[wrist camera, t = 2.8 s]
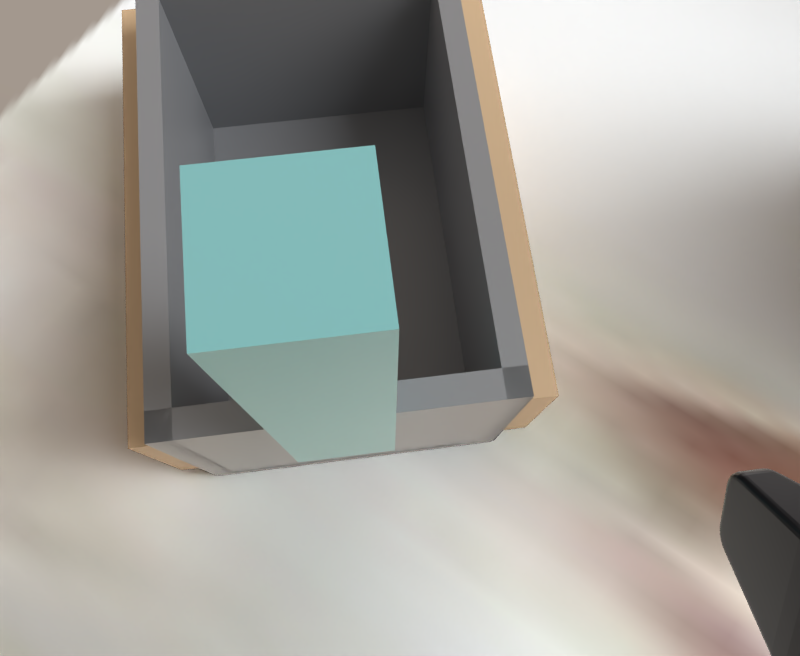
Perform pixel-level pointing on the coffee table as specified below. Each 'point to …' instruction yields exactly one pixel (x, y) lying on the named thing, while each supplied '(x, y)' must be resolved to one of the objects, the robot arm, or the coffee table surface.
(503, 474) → the coffee table surface
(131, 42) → the tan open box
